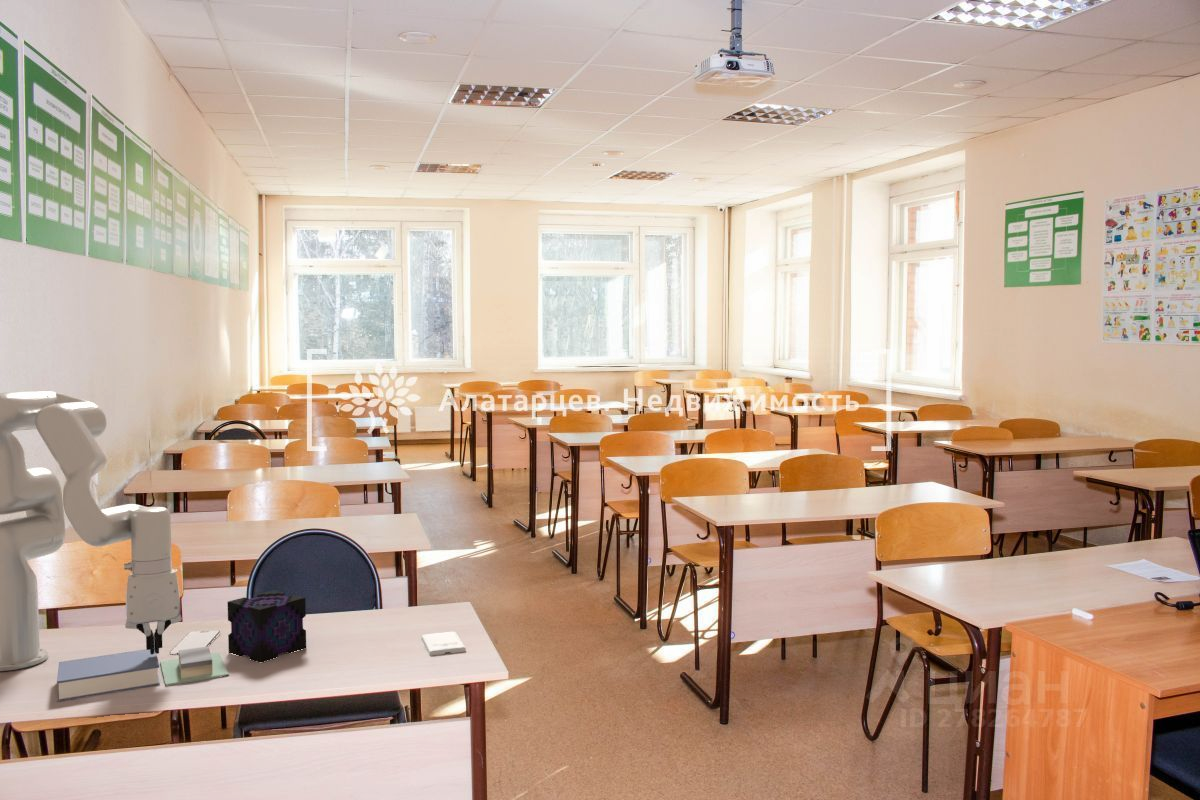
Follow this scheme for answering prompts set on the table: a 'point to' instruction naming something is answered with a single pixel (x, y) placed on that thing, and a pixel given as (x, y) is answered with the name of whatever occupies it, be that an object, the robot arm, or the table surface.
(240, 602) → the energy cube
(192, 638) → the smartphone
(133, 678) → the textbook
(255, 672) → the table surface
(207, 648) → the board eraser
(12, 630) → the robot arm
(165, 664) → the mat
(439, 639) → the external hard drive
